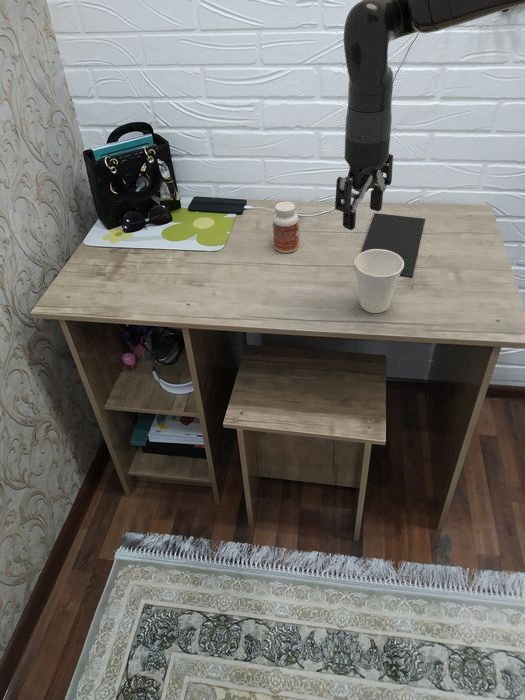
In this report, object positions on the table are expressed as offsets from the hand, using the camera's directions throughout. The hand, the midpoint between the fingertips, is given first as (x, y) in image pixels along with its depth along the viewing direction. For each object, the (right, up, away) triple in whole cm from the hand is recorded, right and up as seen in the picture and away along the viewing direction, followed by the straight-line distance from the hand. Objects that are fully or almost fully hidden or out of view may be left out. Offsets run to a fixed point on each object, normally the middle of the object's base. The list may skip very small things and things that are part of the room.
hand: (362, 218), depth 107 cm
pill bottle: (-13, +1, +34) cm, 36 cm away
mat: (+13, +1, +32) cm, 35 cm away
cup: (+5, -15, +15) cm, 22 cm away
